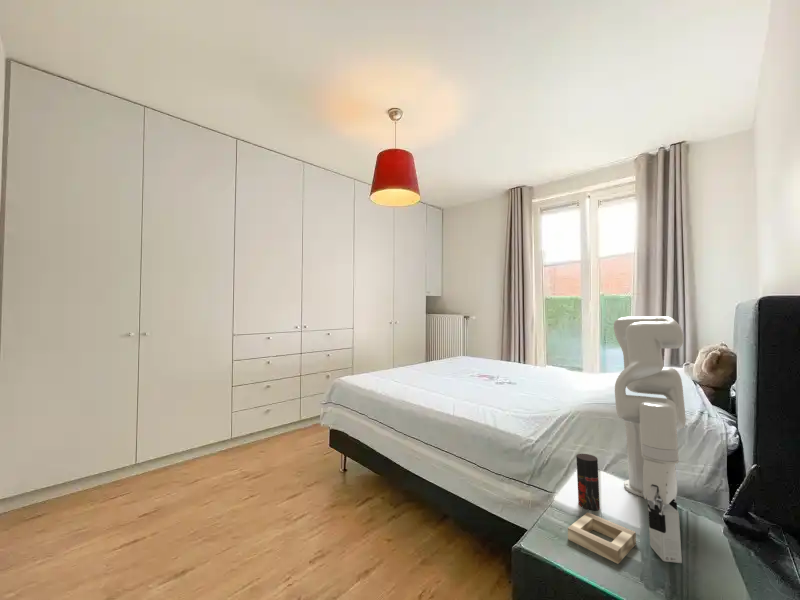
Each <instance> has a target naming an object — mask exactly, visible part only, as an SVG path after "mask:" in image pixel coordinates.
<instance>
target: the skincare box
mask: <svg viewBox="0 0 800 600" xmlns="http://www.w3.org/2000/svg"><path fill="white" fill-rule="evenodd" d="M660 501H662V500H660ZM656 505H658V507H659V509H660V504H657V503H656ZM648 514H649V512H648ZM679 514H680V513H679V511H678V509H677V510H676V509H674V508H673V507H672V506H671V505H670V504H667V505H664V512H663V515H665V523H666V532H665V533H662V532H660V531H657V530H654V529H652V528H650V527H649V526H648V527H649V528H648V531H649V545H650V546H649V547H650V548H651V549H652V550H653V551H654V552H655V554H656V555H657V556H658V557H659V558H660V559H661V560H662V562H666V563H675V564H676V563H677V564H682V563H683V558H682V556H683V555H682V543H681V542H682V541H681V529H680V527H681V526H680V515H679Z"/></svg>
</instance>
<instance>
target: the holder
mask: <svg viewBox="0 0 800 600" xmlns="http://www.w3.org/2000/svg"><path fill="white" fill-rule="evenodd" d="M593 530H594V531H596V532H597V533H600V534H602V535H604V536H606V537H609V538H610V539H613V540H612V541H609V540H606V539H604V538H601V537H600V536H598V535H595V534H593V533H592V531H593ZM636 533H637V532H636V531H634V530H632V529H629V528H627V527H624V526H622V525H620V524H617V523H614V522H612V521H610V520H607V519H605V518H603V517H600V516H598V515H595V514H593V513H590V512H586V513H585V514H583V516H581V517H580V518H578V519H577V520H576V521H575V522H573V523H572V524H571V525H569V526H568V527H567V540H568V541H571V542H573V543H575V544H576V545H579V546H581V547H582V548H584V549H586V550H589V551H591V552H593V553H595V554H597V555H599V556H601V557H602V558H604V559H607V560H609V561H611V562H614V563H615V564H617V565H619V564H620V563H621V562H622V561H623V560H624V559H625V557H626V556H627V555H628V554H629V553H630V552H631V550H632V549H634V548H635V546H636V545H637V534H636Z"/></svg>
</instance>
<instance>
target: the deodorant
mask: <svg viewBox="0 0 800 600" xmlns="http://www.w3.org/2000/svg"><path fill="white" fill-rule="evenodd" d="M575 457H576V473H577V474H576V476H577V499H578V506H579V507H580V508H582V509H584V510H587V511H591V512H596V511H599V510H600V509H601V503H600V485H599V482H600V481H599V463H598V462H599V461H598V458H597V456H595V455H593V454H590V453H589V454H588V453H577V454H576V456H575Z"/></svg>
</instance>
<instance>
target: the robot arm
mask: <svg viewBox="0 0 800 600" xmlns="http://www.w3.org/2000/svg"><path fill="white" fill-rule="evenodd" d="M613 331H614V335H615V338H616V340H617V342H618V344H619V346H620V348H621V351H622V355H623V370H622V371H621V372H620V373H619V375H618V376H617V378H616V381H615V383H614V399H615V410H616V414H617V416H618V418H619V419H620V420H622V421H624V426H625V433H626V436H625V437H626V449H627V453H626V454H627V468H628V469H627V471H628V479H626V480H624V482H623V487H624V489H625V490H627V492H629V493H632V494H634V495H635V496H638V497H641V498H644V499H645V500H647V511H648V512H649V513H648V527H650V528H652V529H654V530H657V531H660V532H662V533H665V532H666V523H665V515H663V512H664V505H667V504H670V505H671V506H672V507H673V508H674V509H676V510H677V511H678V503H677V498H678V497H677V495H678V482H677V481H678V479H677V478H678V477H677V471H676V464H678V463H680V460H679V447H678V434H677V430H681V429H684V428H685V426H686V423H687V421H686V409H685V408H686V406H685V399H684V389H683V387H684V386H683V380H682V377H681V375H680V373H679V371H678V370H677V369H675V368H673V367H668V366H664V360H663V353H662V349H672V350H673V349H680V348H682V346H683V343H684V332H683V330H682V327H681V325H680V324H679V323H678V322H677V320H675V319H674V318H673V317H670V316H668V315H667V316H665V315H664V316H660V315H658V316H642V315H641V316H623V317H619V318H617V319H615V320H614V322H613ZM626 388H627V389H628V391H629V392H632V393H637V394H645V395H655V396H645V395H643V396H642V395H631V394H626V393H627V392H626ZM656 395H657V396H659V395H660V396H664V397H665V398H664V397H656ZM656 498H657V499H660V500H662V501H660V500H657V499H656ZM656 503H657V504H660V509H659V507H658V505H656Z"/></svg>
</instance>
